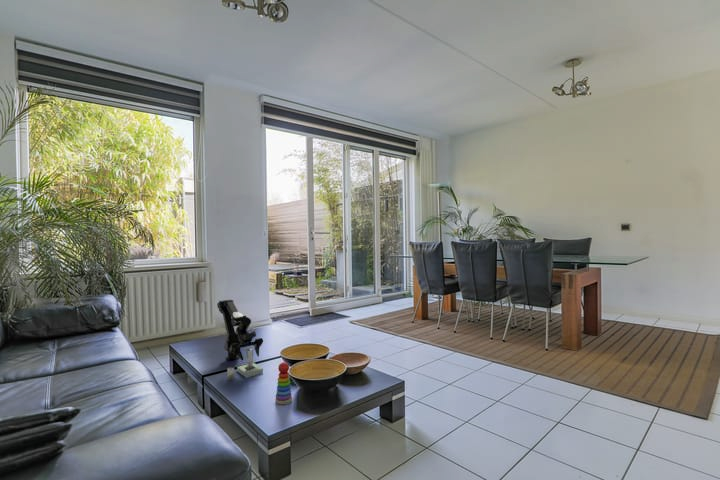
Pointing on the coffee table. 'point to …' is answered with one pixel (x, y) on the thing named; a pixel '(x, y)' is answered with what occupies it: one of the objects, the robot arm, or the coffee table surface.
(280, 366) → the stacking toy
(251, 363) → the tall pin
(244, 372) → the hole plate
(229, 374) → the short pin
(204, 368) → the coffee table surface
